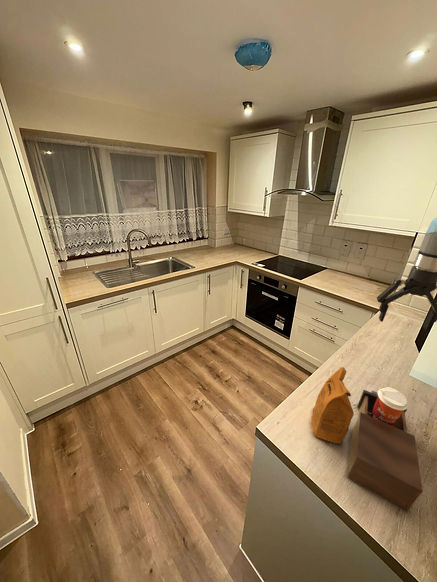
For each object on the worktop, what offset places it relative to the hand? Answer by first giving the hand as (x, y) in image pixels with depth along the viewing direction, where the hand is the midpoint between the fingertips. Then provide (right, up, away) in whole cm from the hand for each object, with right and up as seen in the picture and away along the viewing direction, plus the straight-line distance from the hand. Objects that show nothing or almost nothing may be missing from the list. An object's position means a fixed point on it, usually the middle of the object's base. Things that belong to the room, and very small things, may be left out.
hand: (402, 324), depth 84 cm
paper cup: (-13, -33, -7) cm, 36 cm away
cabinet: (-21, -39, -16) cm, 47 cm away
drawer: (-13, -33, -5) cm, 36 cm away
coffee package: (-30, -34, -5) cm, 45 cm away
